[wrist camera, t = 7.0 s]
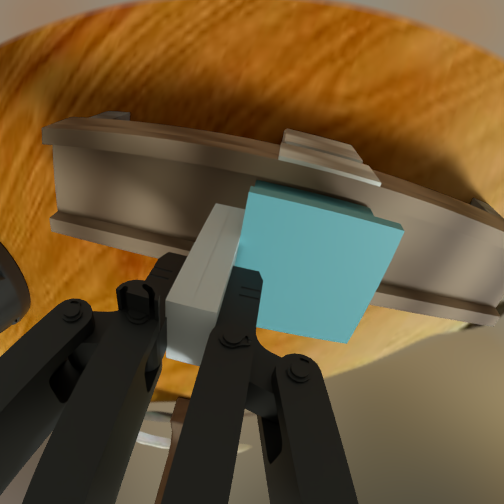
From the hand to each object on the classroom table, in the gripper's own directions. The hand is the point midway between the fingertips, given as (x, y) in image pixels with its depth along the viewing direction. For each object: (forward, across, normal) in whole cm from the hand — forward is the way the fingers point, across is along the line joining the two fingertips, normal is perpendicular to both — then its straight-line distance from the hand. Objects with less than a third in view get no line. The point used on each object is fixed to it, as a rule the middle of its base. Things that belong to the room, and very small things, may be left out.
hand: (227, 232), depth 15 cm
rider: (+2, +4, 0) cm, 4 cm away
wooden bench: (+9, +4, 0) cm, 10 cm away
